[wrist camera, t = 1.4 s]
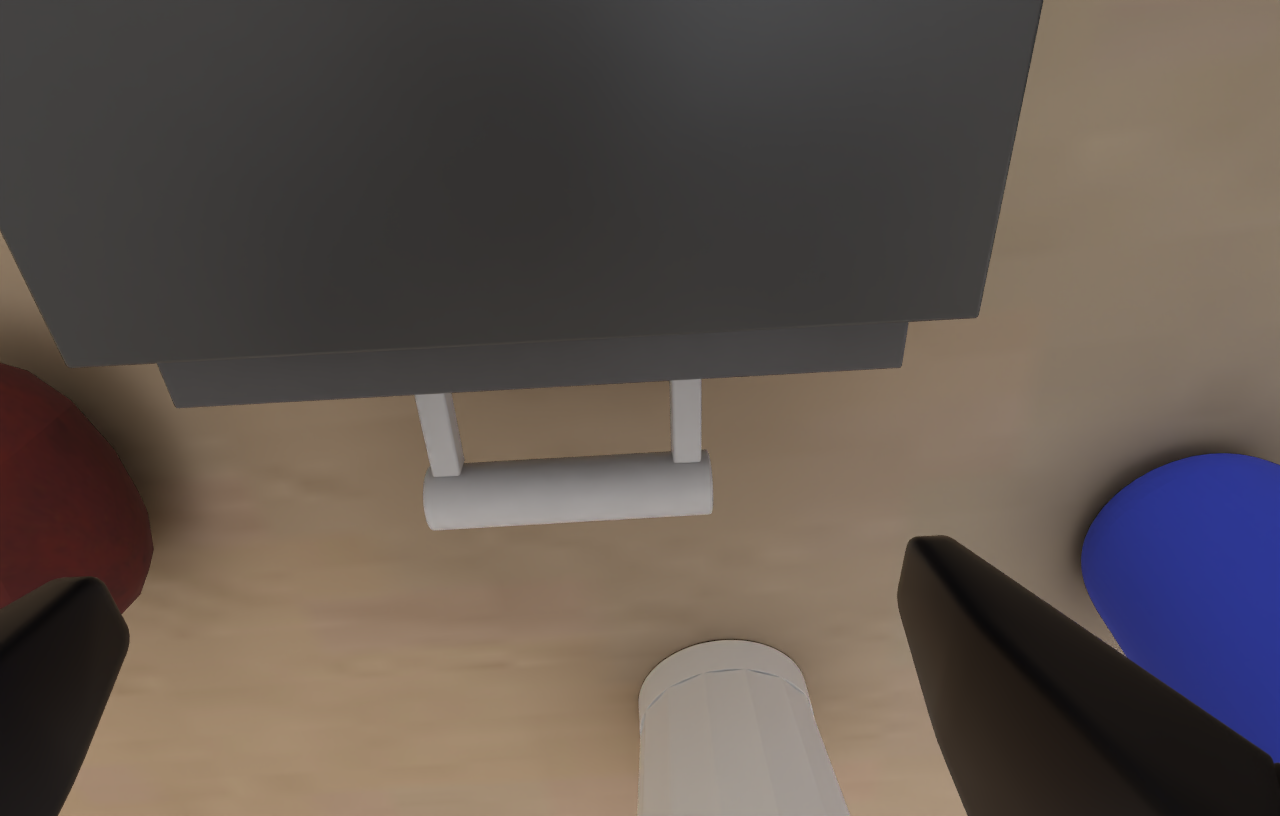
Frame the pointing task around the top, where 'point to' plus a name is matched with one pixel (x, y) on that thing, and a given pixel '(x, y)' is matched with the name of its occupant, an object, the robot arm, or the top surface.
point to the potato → (64, 497)
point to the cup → (732, 737)
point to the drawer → (551, 483)
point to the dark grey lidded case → (498, 168)
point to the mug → (1198, 584)
